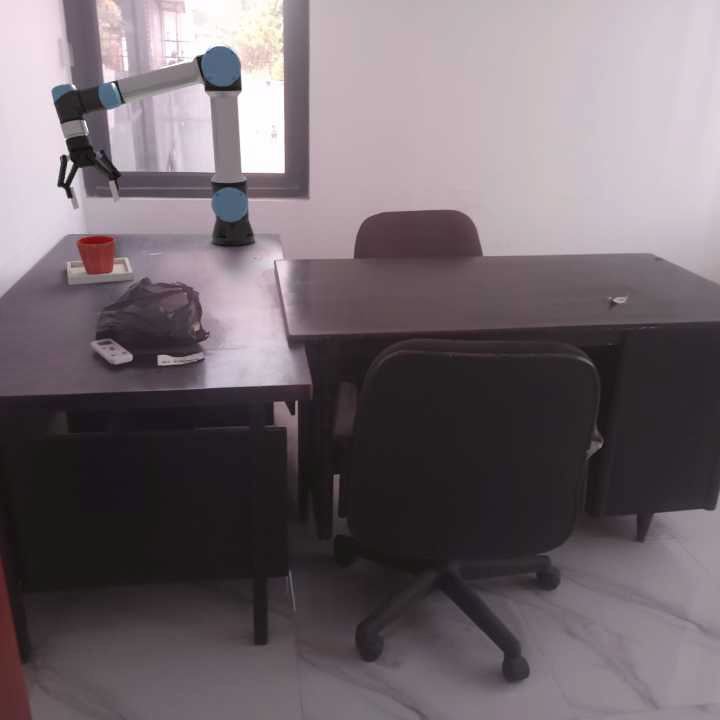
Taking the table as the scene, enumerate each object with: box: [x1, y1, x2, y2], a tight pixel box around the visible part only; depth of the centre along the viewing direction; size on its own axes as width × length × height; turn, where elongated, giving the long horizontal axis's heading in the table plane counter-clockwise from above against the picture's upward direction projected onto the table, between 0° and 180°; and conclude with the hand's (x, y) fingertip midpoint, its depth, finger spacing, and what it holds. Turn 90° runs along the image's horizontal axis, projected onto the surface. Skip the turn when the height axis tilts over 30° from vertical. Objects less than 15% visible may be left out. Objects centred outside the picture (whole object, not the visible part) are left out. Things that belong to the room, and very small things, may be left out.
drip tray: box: [66, 257, 134, 286], centre depth 225 cm, size 18×18×2 cm
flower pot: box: [75, 235, 116, 275], centre depth 223 cm, size 11×11×10 cm
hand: (97, 205), depth 236 cm, fingers open, 13 cm apart
